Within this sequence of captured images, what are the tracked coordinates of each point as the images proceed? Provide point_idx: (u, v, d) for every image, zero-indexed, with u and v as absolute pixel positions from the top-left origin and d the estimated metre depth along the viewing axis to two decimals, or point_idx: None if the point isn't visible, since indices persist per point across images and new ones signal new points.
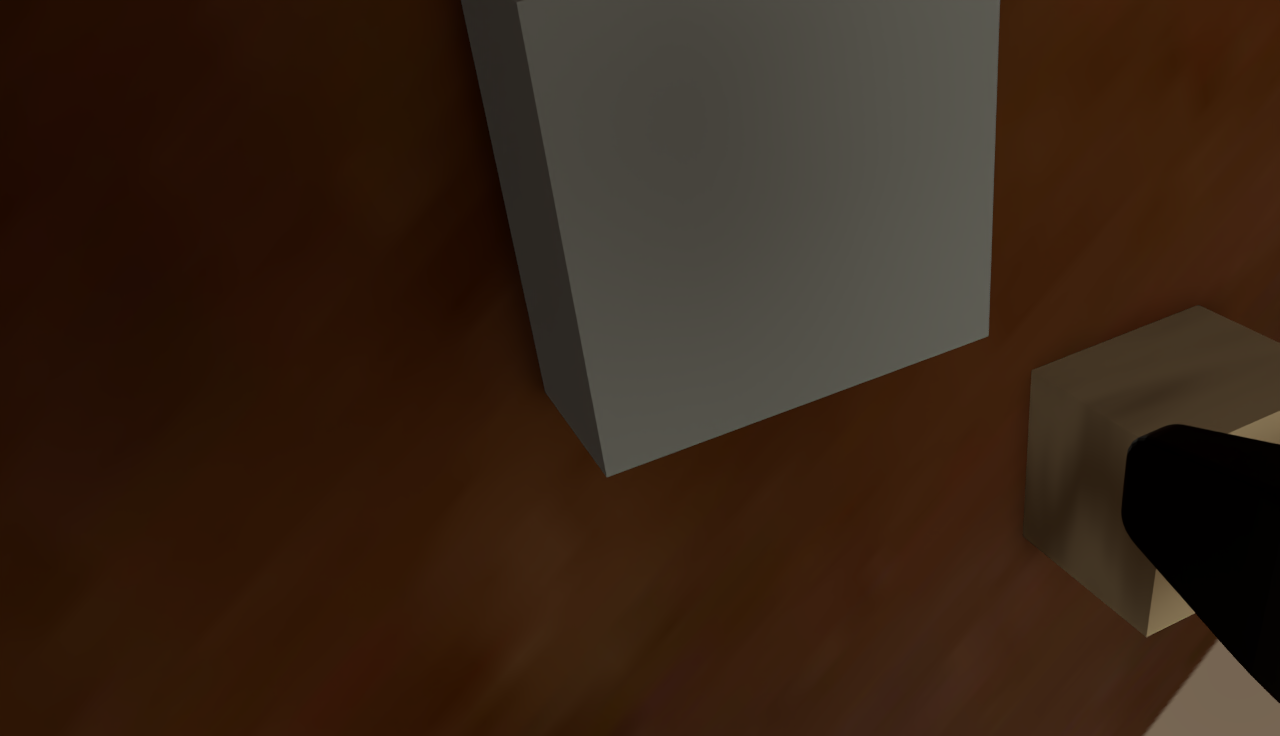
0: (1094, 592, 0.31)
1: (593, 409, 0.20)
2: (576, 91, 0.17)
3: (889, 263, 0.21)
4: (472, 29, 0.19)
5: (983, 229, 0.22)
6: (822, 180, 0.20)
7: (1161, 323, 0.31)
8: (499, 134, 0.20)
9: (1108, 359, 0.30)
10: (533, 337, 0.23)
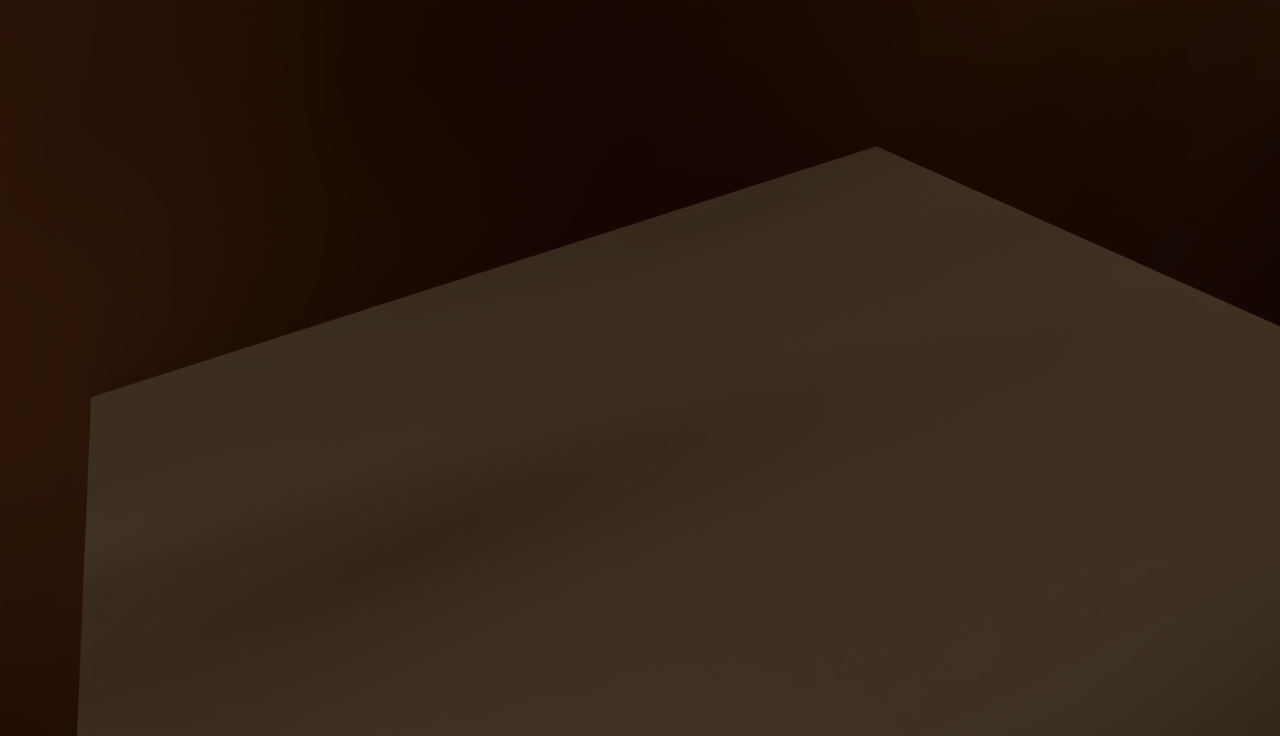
0: None
1: None
2: None
3: None
4: None
5: None
6: None
7: (711, 208, 0.08)
8: None
9: (412, 344, 0.07)
10: None
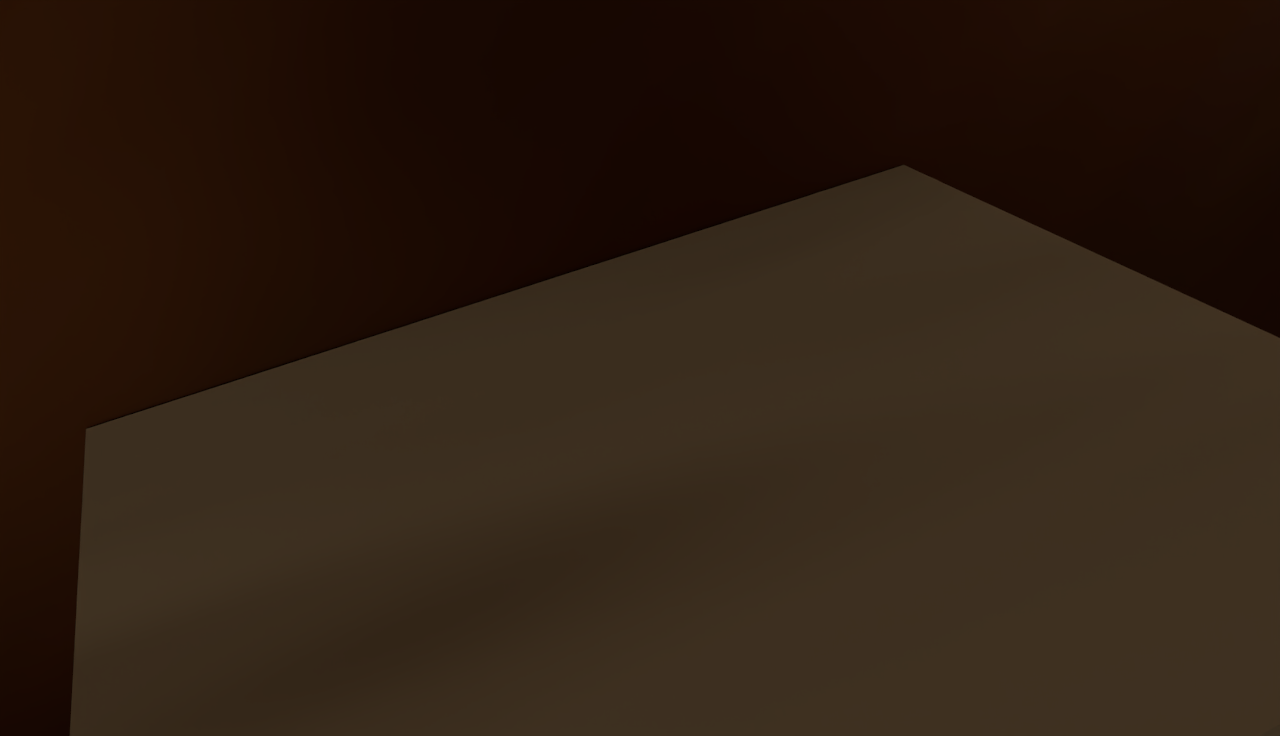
0: None
1: None
2: None
3: None
4: None
5: None
6: None
7: (741, 235, 0.08)
8: None
9: (428, 384, 0.07)
10: None
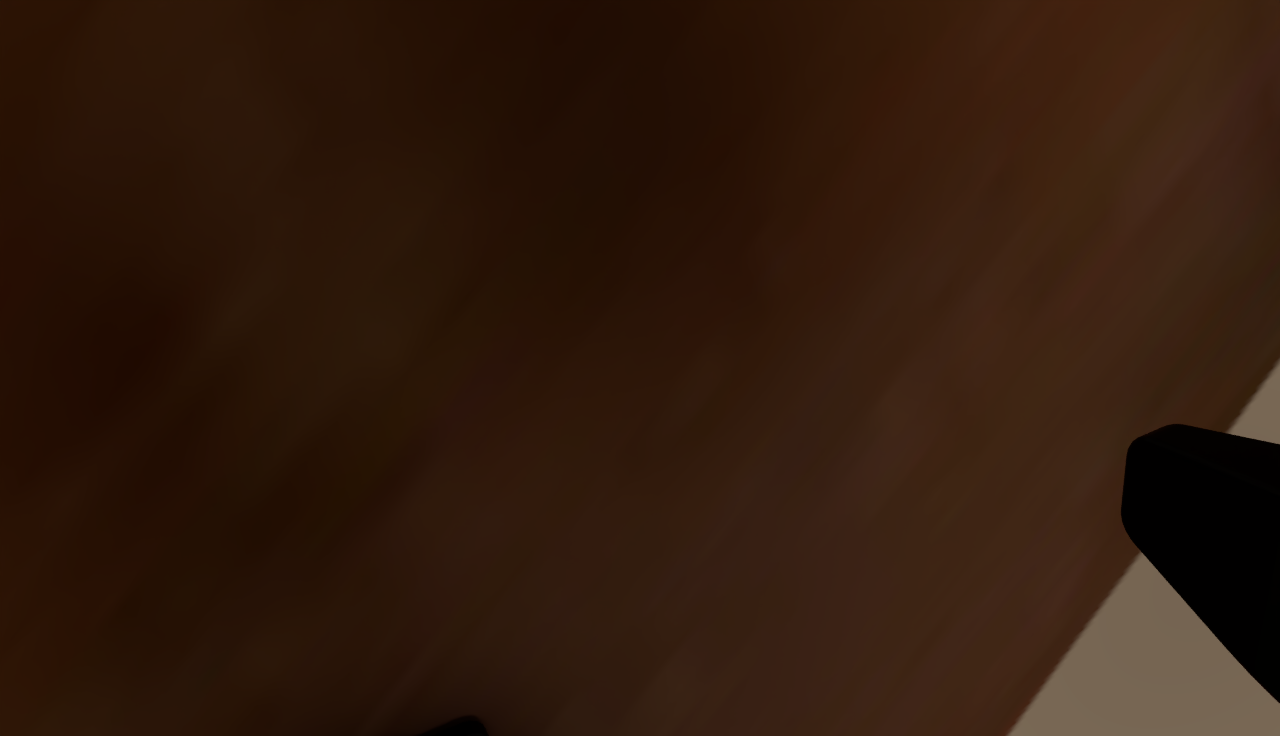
0: None
1: None
2: None
3: None
4: None
5: None
6: None
7: None
8: None
9: None
10: None
